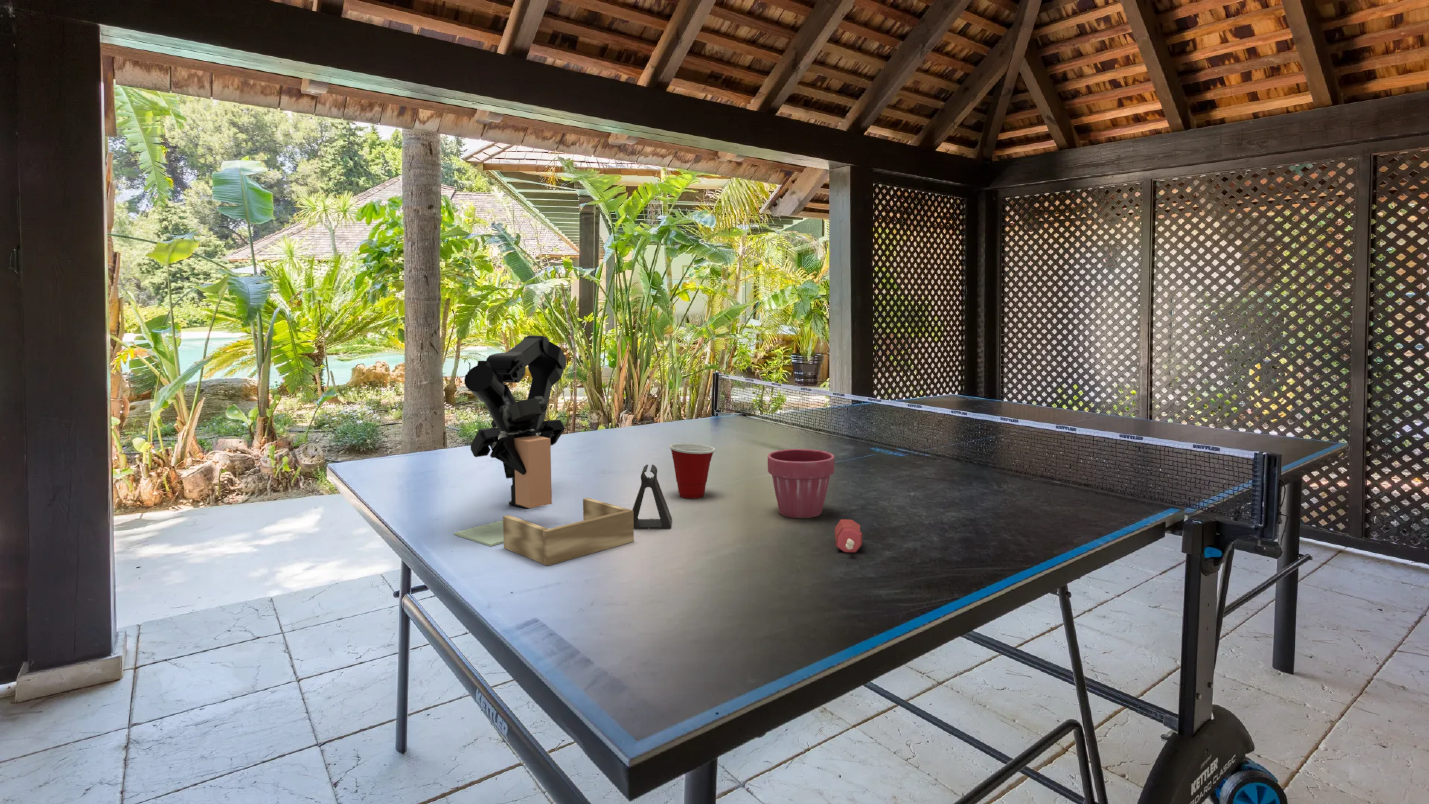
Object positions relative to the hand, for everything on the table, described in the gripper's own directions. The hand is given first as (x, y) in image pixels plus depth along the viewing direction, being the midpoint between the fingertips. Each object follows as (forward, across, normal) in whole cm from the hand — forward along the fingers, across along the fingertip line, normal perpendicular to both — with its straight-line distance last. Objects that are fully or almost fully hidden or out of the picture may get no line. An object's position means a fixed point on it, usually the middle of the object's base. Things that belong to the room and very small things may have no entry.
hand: (536, 471), depth 149 cm
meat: (+44, +34, -26) cm, 61 cm away
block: (+4, 0, +6) cm, 7 cm away
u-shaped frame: (+16, 0, +2) cm, 16 cm away
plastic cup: (+9, +42, +9) cm, 44 cm away
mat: (+5, -5, +13) cm, 15 cm away
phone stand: (+17, +19, +1) cm, 26 cm away
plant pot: (+29, +48, -11) cm, 57 cm away
